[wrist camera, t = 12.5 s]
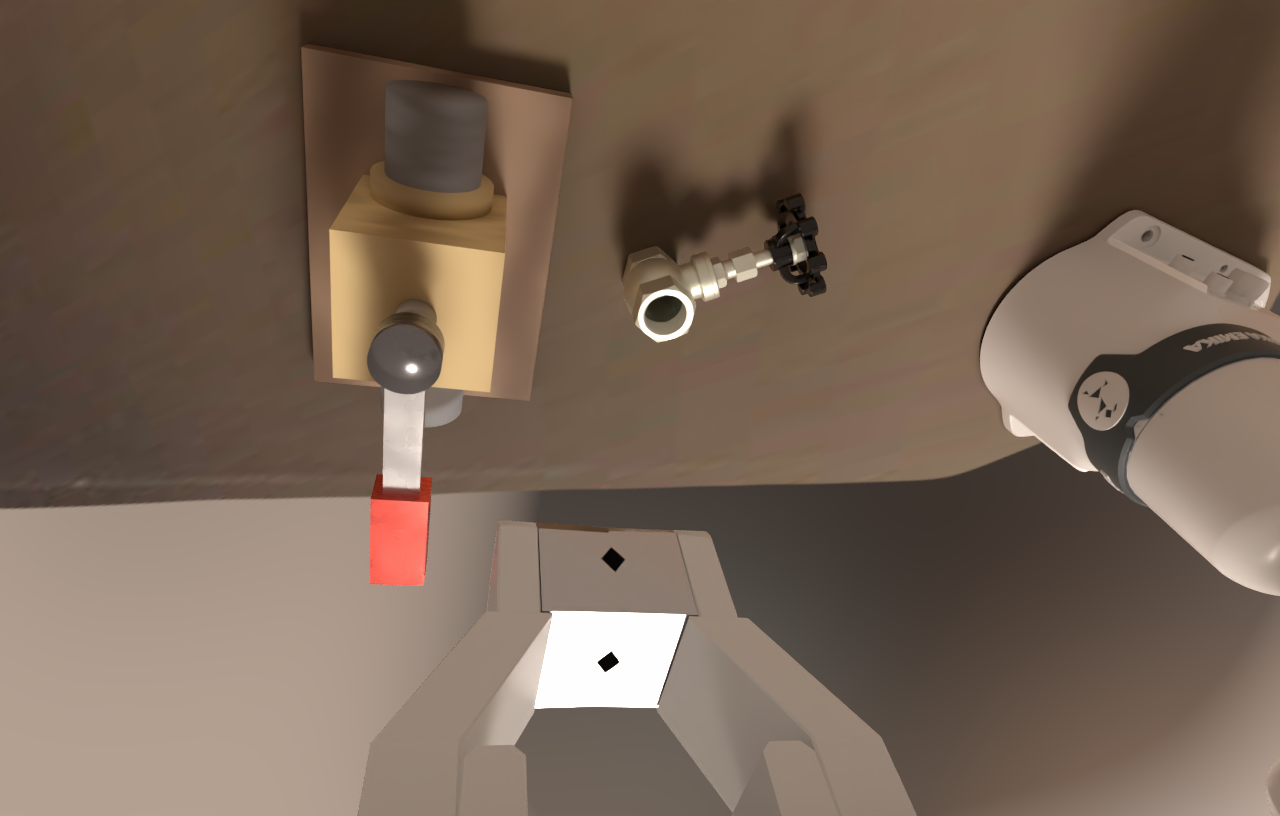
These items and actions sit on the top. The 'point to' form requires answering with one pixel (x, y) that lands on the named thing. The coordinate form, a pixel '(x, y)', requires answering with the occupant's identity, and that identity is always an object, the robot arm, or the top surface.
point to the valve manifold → (430, 217)
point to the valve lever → (403, 447)
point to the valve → (718, 273)
